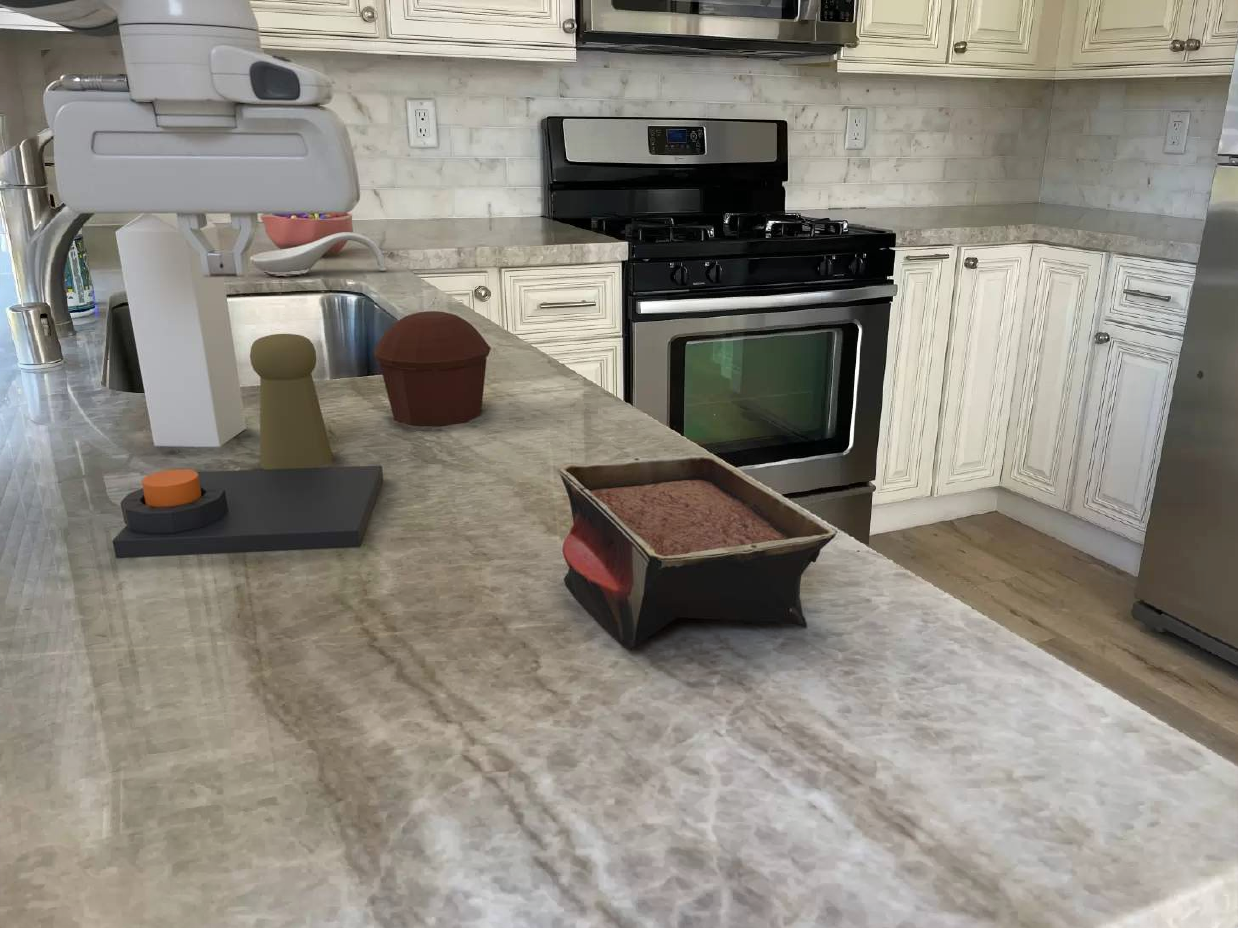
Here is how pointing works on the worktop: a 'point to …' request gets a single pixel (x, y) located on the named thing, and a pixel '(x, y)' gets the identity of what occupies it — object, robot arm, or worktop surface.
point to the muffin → (433, 368)
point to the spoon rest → (309, 254)
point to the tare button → (171, 487)
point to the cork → (289, 404)
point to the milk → (180, 334)
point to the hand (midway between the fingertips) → (226, 276)
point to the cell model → (306, 228)
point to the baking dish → (683, 545)
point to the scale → (255, 513)
